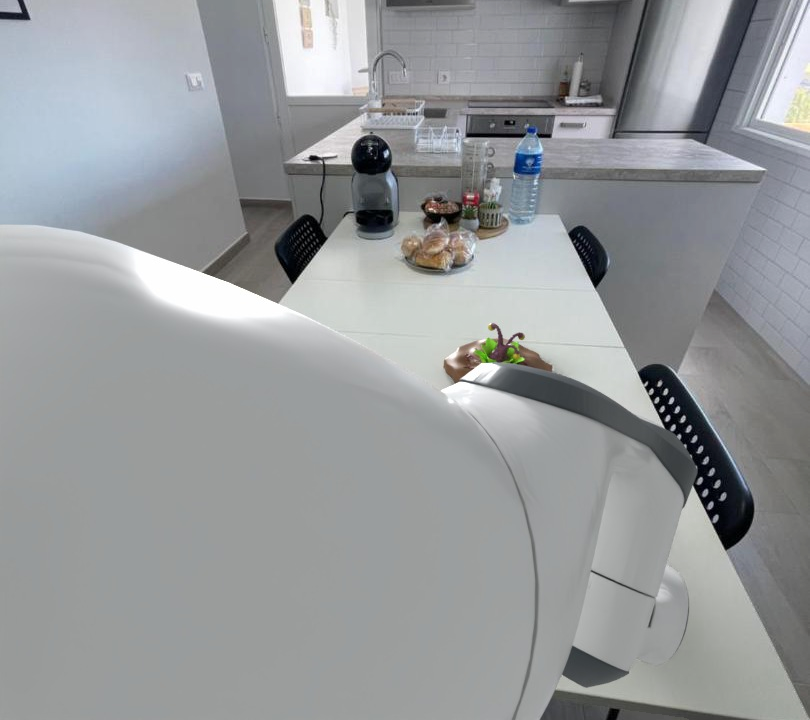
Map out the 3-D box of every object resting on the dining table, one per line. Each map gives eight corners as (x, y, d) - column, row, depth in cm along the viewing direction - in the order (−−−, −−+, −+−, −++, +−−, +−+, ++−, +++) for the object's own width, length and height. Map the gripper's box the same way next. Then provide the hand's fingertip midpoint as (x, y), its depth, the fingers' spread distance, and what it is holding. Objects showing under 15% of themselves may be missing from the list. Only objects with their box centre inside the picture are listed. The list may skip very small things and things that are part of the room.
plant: (496, 337, 103) (502, 293, 96) (566, 379, 90) (578, 332, 83) (428, 368, 93) (429, 322, 87) (495, 420, 80) (502, 370, 74)
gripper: (527, 439, 48) (416, 398, 54) (441, 608, 34) (303, 527, 40) (519, 478, 52) (416, 435, 58) (439, 645, 38) (312, 566, 43)
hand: (369, 474), depth 49 cm, fingers closed on soda can, 5 cm apart
